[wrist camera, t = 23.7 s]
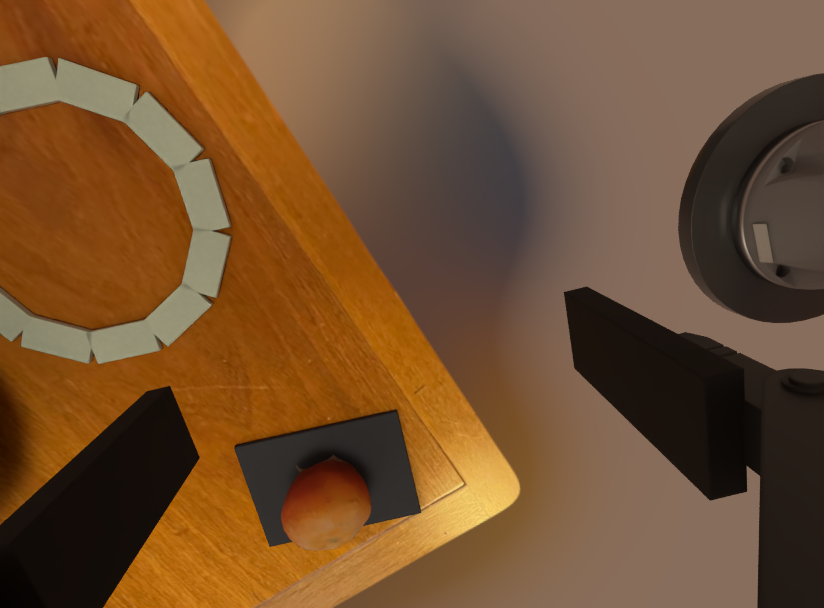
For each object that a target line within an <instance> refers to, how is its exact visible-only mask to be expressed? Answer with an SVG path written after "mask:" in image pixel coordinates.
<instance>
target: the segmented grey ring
mask: <svg viewBox="0 0 824 608" xmlns="http://www.w3.org/2000/svg"><path fill="white" fill-rule="evenodd" d="M138 93H139V85H136V84H133V83H130V82H127V81H125V80H122V79H119V78H116V77H113V76H110V75H107V74H104V73H102V72H99V71H96V70H93V69H90V68H87V67H84V66H81V65H78V64H76V63H73V62H70V61H67V60H64V59H61V58H59V59H58V67H57V70H56V68H55V65H54V63H53V60H52V59H51V58H49V57H43V58H38V59H34V60H29V61H24V62H19V63H14V64H9V65H4V66H0V115H1V114H5V113H10V112H15V111H20V110H25V109H30V108H35V107H39V106H44V105H49V104H54V103H59V102H64V103H67V104H70V105H73V106H76V107H79V108H82V109H85V110H88V111H91V112H94V113H97V114H100V115H103V116H106V117H109V118H112V119H115V120H118V121H121V122H124V123H126V124H127V125H128V126H129V127H130V128H131V129H132V130H133V131H134V132H135V133H136V134H137V135H138V136H139V137H140V138H141V139H142V140H143V141H144V142H145V143H146V144H147V145H148V146H149V147H150V148H151V149H152V150H153V151H154V152H155V153H156V154H157V155H158V156H159V157H160V158H161V159H162V160H163V161H164V162H165V163H166V164H167V165H168V166H169V167H170V168H171V169H172V170H173V171H174V174H175V177H176V180H177V183H178V186H179V189H180V192H181V194H182V197H183V200H184V203H185V206H186V209H187V212H188V215H189V218H190V221H191V224H192V227H193V234H192V239H191V244H190V248H189V253H188V258H187V262H186V267H185V271H184V276H183V281H182V284H181V285H180V286H179V287H178V288H177V289H176V290H175V291H174V292H173V293H172V294H171V295H170V296H169V297H168V298H166V299H165V300H164V301H163V302H162V303H161V304H160V305H159V306H158V307H157V308H156V309H155V310H154V311H153V312H152V313H151V314H150V315H149V316H148V317H147V318H146V319H142V320H137V321H133V322H128V323H124V324H119V325H114V326H110V327H105V328H100V329H96V330H90V329H87V328H83V327H79V326H75V325H71V324H68V323H64V322H60V321H56V320H52V319H49V318H45V317H41V316H37V315H34V314H33V313H32V312H30V311H29V310H28V309H27V308H25V307H24V306H23V305H22V304H21V303H19V302H18V301H17V300H16V299H14V298H13V297H12V296H11V295H9V294H8V293H7V292H6V291H5V290H3V289H2V288H1V287H0V334H2V335H3V336H4V337H5V338H7V339H8V340H9V341H11V342H12V341H14V340H16V339H17V338H18V337H19V336H20V335H21V334H22V341H21V347H24V348H28V349H32V350H36V351H40V352H44V353H48V354H52V355H56V356H60V357H64V358H68V359H72V360H76V361H80V362H84V363H90V362H92V359H93V353H94V355H95V358H96V360H97V362H98V364H100V363H105V362H110V361H114V360H119V359H124V358H128V357H133V356H137V355H142V354H147V353H151V352H156V351H160V350H161V349H163V347H162V345H161V342H160V340H161V341H162V342H164V343H165V344H166V345H167V346H169V345H171V344H172V343H173V342H174V341H175V340H176V339H177V338H178V337H179V336H180V335H181V334H182V333H184V332H185V331H186V330H187V329H188V328H189V327H190V326H191V325H192V324H193V323H194V322H195V321H196V320H197V319H198V318H199V317H200V316H202V315H203V314H204V313H205V312H206V311H207V310H208V309H209V308H210V307H211V306H212V305H213V303H212V302H211V301H210V300H209V299H208V298H207V297H206V296H204V295H208V296H211V297H215V298H216V297H218V294H219V290H220V286H221V282H222V277H223V273H224V269H225V265H226V261H227V256H228V252H229V248H230V244H231V239H232V236H231V235H228V234H224V233H221V232H218V231H215V230H218V229H223V228H228V227H231V226H232V225H231V222H230V219H229V215H228V212H227V209H226V206H225V203H224V199H223V196H222V193H221V190H220V187H219V183H218V180H217V177H216V174H215V171H214V167H213V164H212V161H211V159H203V160H198V161H194V160H195V159H196V158H197V157H198V156H199V155H200V154H201V153H202V152H203V151H204V150H205V149H204V148H203V147H202V145H201V144H200V143H199V142H198V141H197V140H196V139H195V138H194V137H193V136H192V135H191V134H190V133H189V132H188V131H187V130H186V129H185V128H184V127H183V126H182V125H181V124H180V123H179V122H178V121H177V120H176V119H175V118H174V117H173V116H172V115H171V114H170V113H169V112H168V111H167V110H166V109H165V108H164V107H163V106H162V104H161V103H160V102H159V101H158V100H157V99H156V98H155V97H154V96H153V95H152V94H151V93H149V92H145V93H144V94H143V96H142V97H141V98H140V99H139V100H138V101H137V99H138ZM203 294H204V295H203ZM159 339H160V340H159Z"/></svg>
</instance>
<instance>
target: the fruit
mask: <svg viewBox="0 0 824 608" xmlns="http://www.w3.org/2000/svg"><path fill="white" fill-rule="evenodd" d="M296 467H297V468H298V470H299V472H300V473H299V474H298V476H297V477H296V479H295V480H294V481H293V483H292V484H291V486H290V488H289V490H288V493H287V495H286V497H285V501H284V504H283V508H282V512H281V521H282V524H283V529H284V531H285V532H286V534H287V536H288V537H289V539H290V540H291V541H293V542H294V543H296V544H297V545H298V546H299V547H300V548H303V549H306V550H314V551H318V550H328V549H336V548H339V547H340V546H342V545H343V544H345V543H347V542H349V541H350V540H351V539H352V538H353V537H354V536H355V534H356V533H357V532H358V531H359V530H360V529H361V527H362V526H363V525H364V524H365V522H366V521H367V520H368V518H369V516H370V513H371V500H370V494H369V490H368V488H367V485H366V483H365V481H364V480H363V478H362V476H361V475H360V474H359V473H358V472H357V470H356V469H355V468H354V467H353V466H352V465H351V464H349V463H347V462H345V461H343V460H341V459H338V458H337V457H336V456H334V454H333V455H332V456H331V457H330V458H329V459H327V460H325V461H322V462H320V463H318V464H315V465H313V466H312V467H310V468H307V469H300V468H299V467H298V466H297V465H296Z"/></svg>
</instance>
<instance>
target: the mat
mask: <svg viewBox="0 0 824 608" xmlns="http://www.w3.org/2000/svg"><path fill="white" fill-rule="evenodd" d="M234 449H235V452H236V454H237V457H238V460H239V463H240V466H241V468H242V471H243V474H244V477H245V479H246V482H247V485H248V488H249V491H250V493H251V496H252V499H253V502H254V504H255V507H256V510H257V513H258V516H259V518H260V521H261V524H262V527H263V529H264V532H265V535H266V538H267V541H268V543H269V546H270V547H271V546H276V545H280V544H285V543H289V542H293V541H291V540H290V539H289V537H288V536H287V534H286V532H285V531H284V529H283V524H282V521H281V512H282V508H283V504H284V501H285V497H286V495H287V493H288V490H289V488H290V486H291V484H292V483H293V481H294V480H295V479H296V477H297V476H298V474H299V473H300V472H299V470H298V468H297V467H296V465H297V466H298V467H299V468H300V469H307V468H310V467H312V466H313V465H315V464H318V463H320V462H322V461H325V460H327V459H329V458H330V457H331V456H332V455H333V454H334V456H336V457H337V458H338V459H341V460H343V461H345V462H347V463H349V464H351V465H352V466H353V467H354V468H355V469H356V470H357V472H358V473H359V474H360V475H361V476H362V478H363V480H364V481H365V483H366V485H367V488H368V490H369V494H370V500H371V513H370V516H369V518H368V520H367V521H366V522H365V524H364V525H363V526H365V525H369V524H374V523H378V522H383V521H387V520H392V519H396V518H400V517H405V516H409V515H414V514H418V513H421V509H420V505H419V501H418V497H417V493H416V488H415V484H414V480H413V476H412V472H411V467H410V463H409V459H408V455H407V451H406V446H405V442H404V438H403V434H402V430H401V425H400V421H399V417H398V413H397V410H393V411H389V412H384V413H380V414H375V415H370V416H366V417H361V418H357V419H352V420H348V421H343V422H339V423H334V424H330V425H325V426H321V427H316V428H311V429H307V430H302V431H298V432H293V433H289V434H284V435H280V436H275V437H271V438H266V439H262V440H257V441H252V442H248V443H243V444H239V445H235V447H234Z"/></svg>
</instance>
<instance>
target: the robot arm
mask: <svg viewBox="0 0 824 608" xmlns="http://www.w3.org/2000/svg"><path fill="white" fill-rule="evenodd" d="M731 226H732V236H733V241H734V245H735V248H736V250H737V253H738V255H739V257H740V259H741V260H742V262H743V263H744V264H745V266H746V267H747V268H748V269H749V270H750V271H751V272H752V273H753V274H755V275H756V276H758V277H759V278H761V279H763V280H765V281H767V282H770V283H773V284H777V285H781V286H784V287H788V288H794V289H807V290H816V289H824V120H819V121H813V122H809V123H805V124H803V125H800V126H797V127H795V128H793V129H791V130H789V131H787V132H786V133H784V134H782V135H781V136H779V137H778V138H777V139H775V140H774V141H773V142H772V143H770V144H769V145H768V146H767V147H766V148H765V149H764V150H763V151H762V152H761V153H760V154H759V155H758V156H757V158H756V159H755V160H754V161H753V163H752V164H751V166H750V167H749V169H748V170H747V172H746V173H745V175H744V177H743V179H742V181H741V183H740V186H739V188H738V190H737V193H736V197H735V200H734V204H733V210H732V220H731ZM564 296H565V303H566V311H567V317H568V324H569V332H570V340H571V347H572V353H573V361H574V368H575V369H576V370H577V371H578V372H579V373H580V374H581V375H582V376H583V377H584V378H585V379H586V380H587V381H588V382H589V383H590V384H591V385H592V386H593V387H594V388H595V389H596V390H597V391H598V392H599V393H600V394H601V395H602V396H603V397H604V398H606V399H607V400H608V401H609V402H610V403H611V404H612V405H613V406H614V407H615V408H616V409H617V410H618V411H619V412H620V413H621V414H622V415H623V416H624V417H625V418H626V419H627V420H628V421H629V422H630V423H631V424H632V425H633V426H634V427H635V428H636V429H637V430H638V431H639V432H640V433H642V435H643V436H644V437H645V438H647V439H648V440H649V441H650V442H651V443H652V444H653V445H654V446H655V447H656V448H657V449H658V450H659V451H660V452H661V453H662V454H663V455H664V456H665V457H666V458H667V459H668V460H669V461H670V462H671V463H672V464H673V465H674V466H675V467H676V468H677V469H678V470H679V471H680V472H681V473H682V474H683V475H685V476H686V477H687V478H688V479H689V480H690V481H691V482H692V483H693V484H694V485H695V486H696V487H697V488H698V489H699V490H700V491H701V492H702V493H703V494H704V495H705V496H706V497H707V498H708V499H709V500H714V499H718V498H723V497H726V496H731V495H735V494H739V493H743V492H747V471H746V470H747V469H746V465H747V466H748V467H749V468H751V469H752V470H753V471H754V472H756V473H757V474H758V475H760V513H759V515H760V516H759V562H758V563H759V564H758V608H824V371H821V370H813V369H784V370H778V371H776V370H774V369H772V368H770V367H768V366H766V365H764V364H762V363H759V362H758V361H755V360H753V359H751V358H749V357H747V356H745V355H743V354H741V353H738V354H737V351H735V350H732V349H730V348H729V347H724V346H723V345H722V344H720V343H718V342H716V341H714V340H712V339H710V338H708V337H704V336H700V335H695V334H691V333H686V332H685V333H681V334H677V333H675V332H673V331H671V330H669V329H667V328H665V327H663V326H661V325H659V324H657V323H655V322H654V321H652V320H650V319H648V318H646V317H644V316H642V315H640V314H638V313H636V312H634V311H633V310H631V309H629V308H627V307H625V306H623V305H621V304H619V303H617V302H615V301H613V300H611V299H610V298H608V297H606V296H604V295H601V294H600V293H598V292H596V291H594V290H592V289H590V288H588V287H583V288H580V289H575V290H571V291H567V292H564ZM199 458H200V457H199V455H198V452H197V450H196V448H195V445H194V443H193V440H192V438H191V436H190V433H189V431H188V428H187V426H186V423H185V421H184V419H183V416H182V414H181V411H180V409H179V407H178V404H177V402H176V399H175V397H174V394H173V392H172V390H171V387H170V386H168V387H163V388H159V389H155V390H151V391H147V392H146V393H145V394H144V395H142V396H141V397H140V398H139V399H138V400H137V401H136V402H135V403H134V404H133V405H131V406H130V407H129V408H128V409H127V410H126V411H125V412H124V413H123V414H122V415H121V416H119V417H118V418H117V419H116V420H115V421H114V422H113V423H112V424H111V425H110V426H108V427H107V428H106V429H105V430H104V431H103V432H102V433H101V434H100V435H99V436H97V437H96V438H95V439H94V440H93V441H92V442H91V443H90V444H89V445H88V446H87V447H85V448H84V449H83V450H82V451H81V452H80V453H79V454H78V455H77V456H76V457H74V458H73V459H72V460H71V461H70V462H69V463H68V464H67V465H66V466H65V467H63V468H62V469H61V470H60V471H59V472H58V473H57V474H56V475H55V476H54V477H53V478H51V479H50V480H49V481H48V482H47V483H46V484H45V485H44V486H43V487H42V488H40V489H39V490H38V491H37V492H36V493H35V494H34V495H33V496H32V497H31V498H29V499H28V500H27V501H26V502H25V503H24V504H23V505H22V506H21V507H20V508H19V509H17V510H16V511H15V512H14V513H13V514H12V515H11V516H10V517H9V518H8V519H6V520H5V521H4V522H3V523H2V524H1V525H0V608H103V607H104V605H105V604H106V602H107V600H108V599H109V597H110V596H111V594H112V593H113V591H114V590H115V588H116V587H117V585H118V583H119V582H120V580H121V579H122V577H123V576H124V574H125V573H126V571H127V570H128V568H129V566H130V565H131V563H132V562H133V560H134V559H135V557H136V556H137V554H138V553H139V551H140V549H141V548H142V546H143V545H144V543H145V542H146V540H147V539H148V537H149V536H150V534H151V532H152V531H153V529H154V528H155V526H156V525H157V523H158V522H159V520H160V518H161V517H162V515H163V514H164V512H165V511H166V509H167V508H168V506H169V505H170V503H171V501H172V500H173V498H174V497H175V495H176V494H177V492H178V491H179V489H180V488H181V486H182V484H183V483H184V481H185V480H186V478H187V477H188V475H189V474H190V472H191V471H192V469H193V467H194V466H195V464H196V463H197V461H198V460H199Z"/></svg>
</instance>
